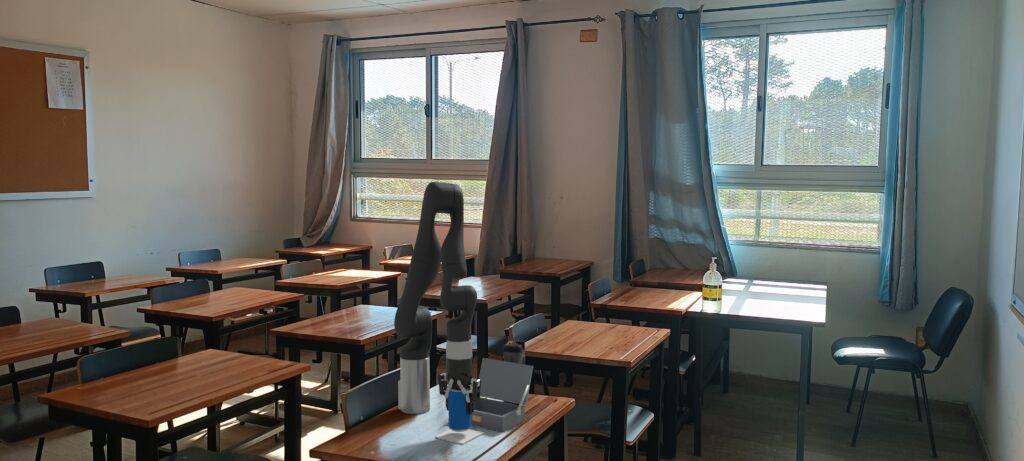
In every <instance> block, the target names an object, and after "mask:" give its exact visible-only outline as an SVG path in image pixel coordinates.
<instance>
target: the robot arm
mask: <svg viewBox="0 0 1024 461" xmlns="http://www.w3.org/2000/svg"><path fill="white" fill-rule="evenodd" d="M464 200H465V199H464V193H463V189H462V187H461V186H460V185H459V184H457V183H456V184H455V183H451V182H450V183H449V182H442V181H441V182H439V181H431V182H429V183H427V185H426V187H425V189H424V193H423V196H422V204H421V210H420V218H419V222H418V223H419V224H418V230H417V233H416V234H417V235H416V237H415V238H416V239H415V243H414V247H413V250H412V254H411V257H410V262H409V267H408V272H407V277H406V280H405V283H404V287H403V290H402V291H403V292H402V295H401V298H400V300H399V303H398V305H397V308H396V312H395V314H394V320H393V321H394V322H393V327H394V331H395V333H396V335H397V336H398V337H399V338H403V339H407V338H409V340H408V341H407V343H406V344H405V345H403V346H402V347H401V348H400V351H399V359H400V362H399V363H400V367H399V369H400V370H399V371H400V379H399V380H398V382H397V386H398V388H397V389H398V390H397V392H398V393H397V394H398V395H397V396H398V397H397V398H398V401H397V402H398V410H400V411H401V412H402V413H404V414H409V415H415V414H416V415H419V414H423V413H427V412H429V411H430V410H431V397H430V396H431V394H430V393H431V390H430V389H431V388H430V386H431V384H430V380H431V378H430V376H431V374H430V371H431V370H430V353H431V352H430V351H431V348H432V339H433V318H432V314H431V311H430V310H429V309H428V307H426V306H424V305H420V302H421V300H422V298H423V297H424V295H426V293H427V291H428V290H429V289H430V288H431V286H433V284H434V282H435V280H436V279H437V277H438V275H439V272H440V269H442V283H441V290H440V294H439V296H440V297H439V304H440V306H441V308H442V309H443V310H444V311H446V312H457V311H459V312H460V311H462V312H461V314H460V315H459V316H456V317H454V318H451V319H449V320H447V322H446V344H445V372H443V373H440V374H438V375H437V378H438V389H439V390H438V392H439V394H440V396H444V398H445V408H446V411H447V412H449V409H448V392H449V391H450V389H452V388H453V389H455V390H460V391H462V393H463V395H465V398H466V401H467V402H466V414H467V415H471V414H472V413H473V412H474V401H476V400H478V399H480V392H481V380H480V379H479V378H478V379H476V378H473V376H472V372H473V344H472V342H473V341H472V324H473V317H474V313H475V310H476V306H477V302H478V293H477V290H476V288H475V287H474V286H473V285H453V282H456V281H460V280H462V279H464V278H466V277H467V274H468V268H467V262H466V261H467V260H466V254H465V246H464V232H465V231H464V228H465V227H464V226H465V220H464V218H465V205H464V204H465V201H464ZM437 214H447V215H449V217H450V218H449V219H450V226H449V228H448V232H447V234H446V235H445V238H444V240H443V242H442V245H441V244H440V241H439V239H438V237H437V236H438V235H437V233H436V228H435V224H436V223H435V222H436V215H437ZM446 372H447V373H446ZM466 389H469V391H466ZM469 393H470V396H469Z"/></svg>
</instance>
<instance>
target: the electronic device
mask: <svg viewBox="0 0 1024 461" xmlns="http://www.w3.org/2000/svg"><path fill="white" fill-rule="evenodd" d="M503 361H506V362H512V363H518V364H524V365H526V342H525V341H524V340H519V339H518V340H517V339H510V340H508V341H507V342H506V343H505V344H504V345H503ZM503 402H506V403H511V404H516V405H519V404H517V403H512V402H507V401H503Z"/></svg>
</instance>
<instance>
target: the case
mask: <svg viewBox="0 0 1024 461" xmlns="http://www.w3.org/2000/svg"><path fill="white" fill-rule="evenodd" d="M481 360H482V362H481V365H480V371H479V376H478V379H480V380H481V392H480V396H482V397H487V399H486V398H481V397H480V399H478V400H476V401H474V412H473V413H472V414H471V426H474V427H478V428H482V429H486V430H490V431H495V432H498V433H505V432H507V431H508V430H510V429H513V428H514V427H515V426H517V425H519V424H521V423H523V422H525V417H526V416H525V413H526V412H525V410H526V409H525V408H526V407H525V406H527V404H528V399H529V393H530V387H531V381H532V376H533V370H534V365H528V364H525V365H524V364H518V363H512V362H506V361H504V360H500V359H493V358H486V357H482V359H481ZM504 401H507V402H512V403H517V404H519V405H516V404H511V403H506V402H504Z"/></svg>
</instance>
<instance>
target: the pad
mask: <svg viewBox="0 0 1024 461" xmlns="http://www.w3.org/2000/svg"><path fill="white" fill-rule="evenodd" d="M484 434H485V432H482V431H478V430H474V429H471V428H469V429H468V430H467V431H464V432H455V431H452V430H451V429H450V428H449V429H448V430H446V431H444V432H441V433H440V434H438V435H435V436H434V438H435V439H439V440H442V441H447V442H451V443H456V444H457V445H458V444H459V445H462V446H463V445H466V444H467V443H469V442H471V441H473V440H474V439H477V438H478V437H479V438H480V437H481V436H482V435H484Z"/></svg>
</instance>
